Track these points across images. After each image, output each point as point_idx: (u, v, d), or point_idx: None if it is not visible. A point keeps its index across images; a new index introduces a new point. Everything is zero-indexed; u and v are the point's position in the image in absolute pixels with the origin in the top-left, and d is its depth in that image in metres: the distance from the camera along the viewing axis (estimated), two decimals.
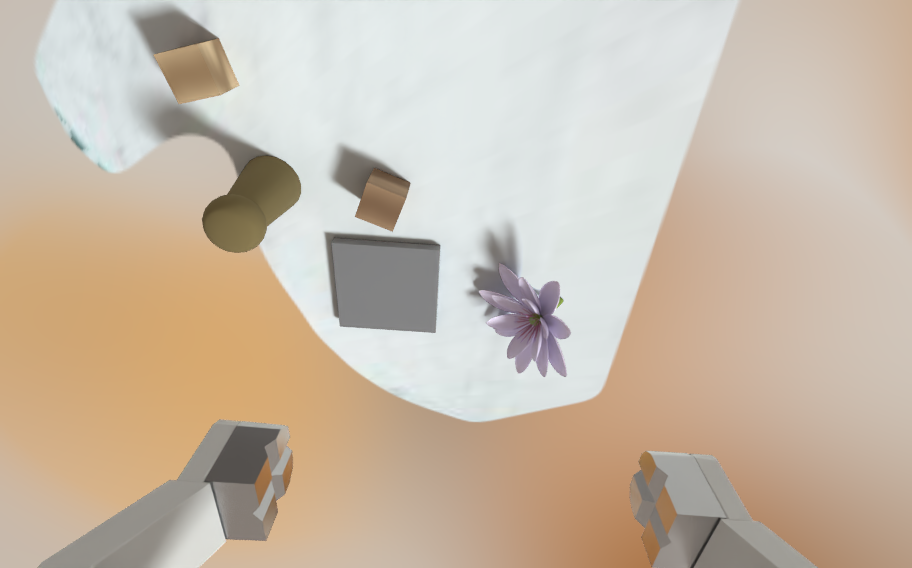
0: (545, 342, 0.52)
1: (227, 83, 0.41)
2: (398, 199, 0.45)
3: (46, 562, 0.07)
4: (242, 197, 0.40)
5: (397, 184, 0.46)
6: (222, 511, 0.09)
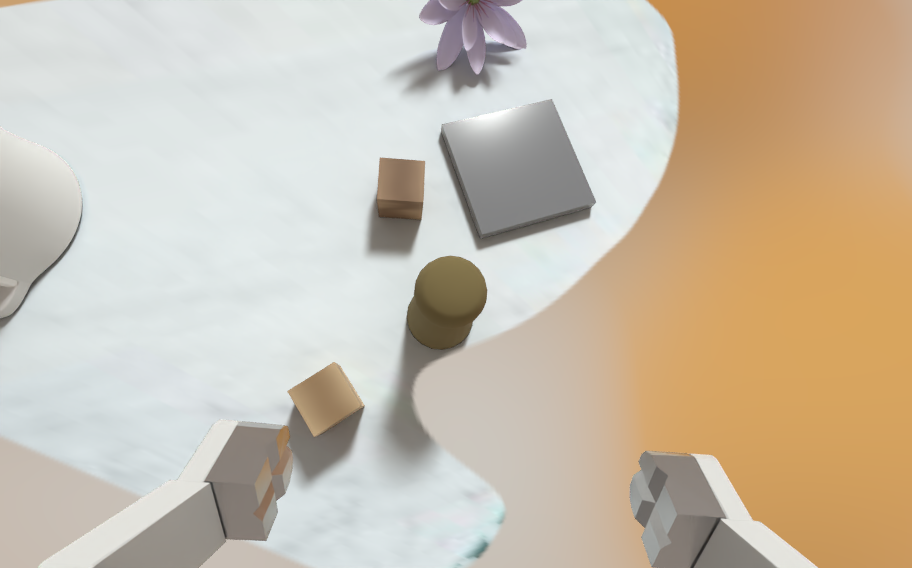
0: None
1: None
2: (384, 164, 0.41)
3: (46, 563, 0.07)
4: None
5: None
6: (222, 511, 0.09)
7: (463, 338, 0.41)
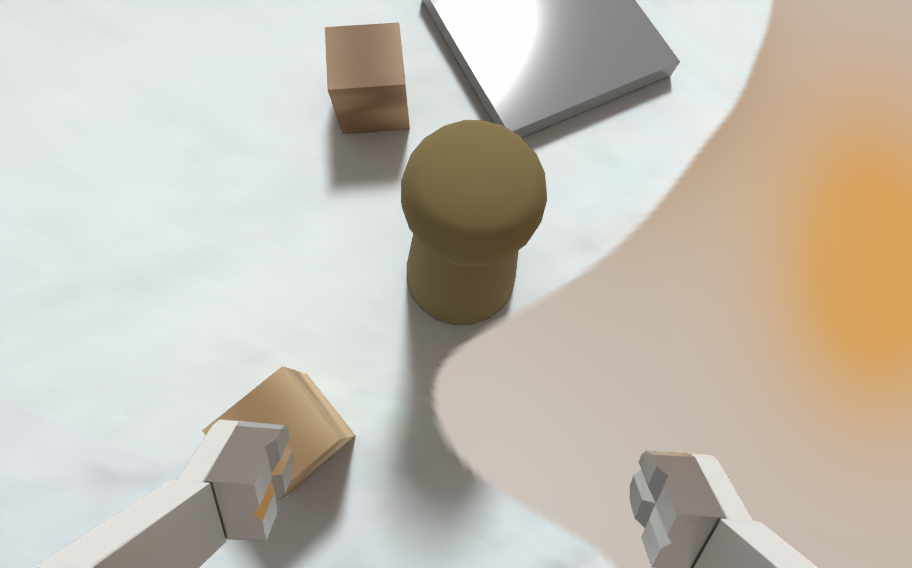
0: None
1: None
2: (333, 36, 0.25)
3: (46, 563, 0.07)
4: None
5: None
6: (222, 511, 0.09)
7: (504, 300, 0.24)
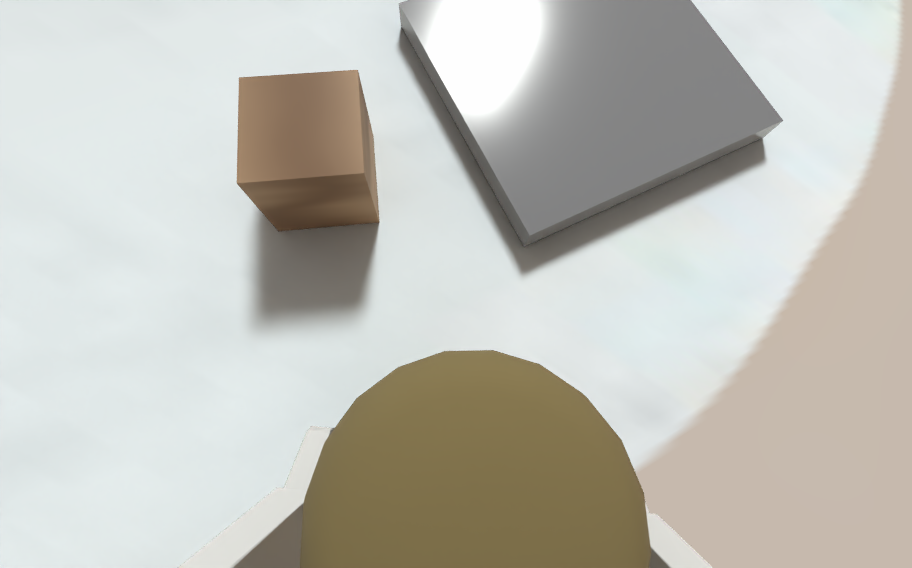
0: None
1: None
2: (251, 92, 0.15)
3: None
4: None
5: None
6: None
7: None
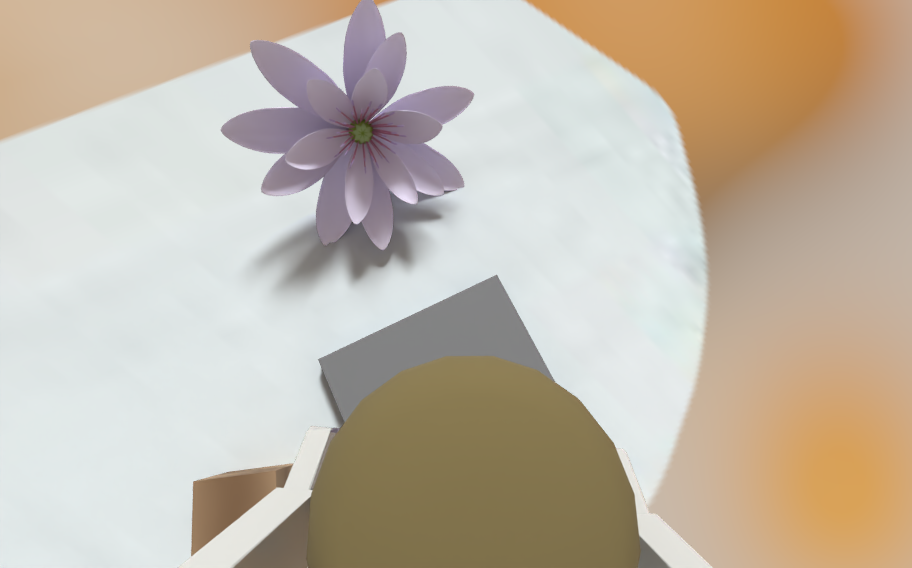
0: None
1: None
2: (201, 494, 0.23)
3: None
4: None
5: None
6: None
7: None
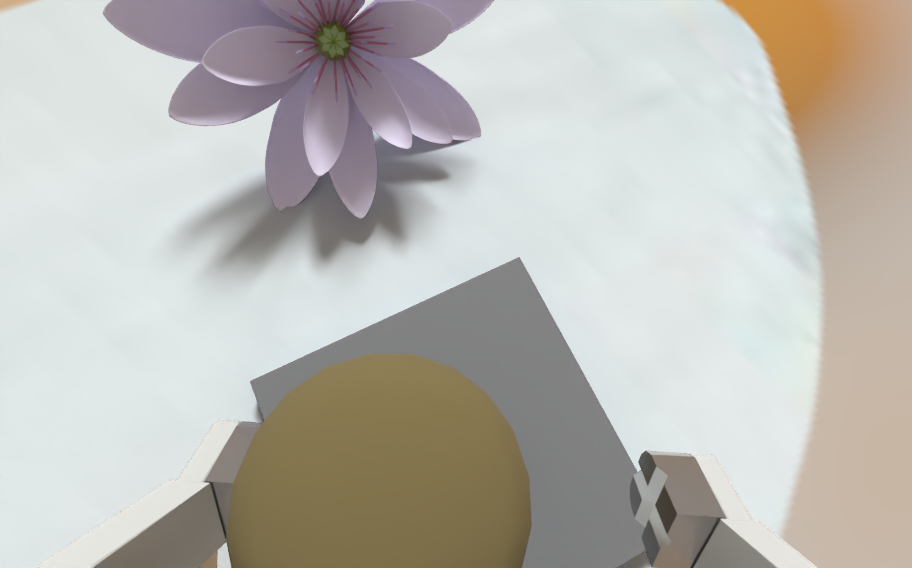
0: None
1: None
2: None
3: (46, 562, 0.07)
4: None
5: None
6: (222, 511, 0.09)
7: None
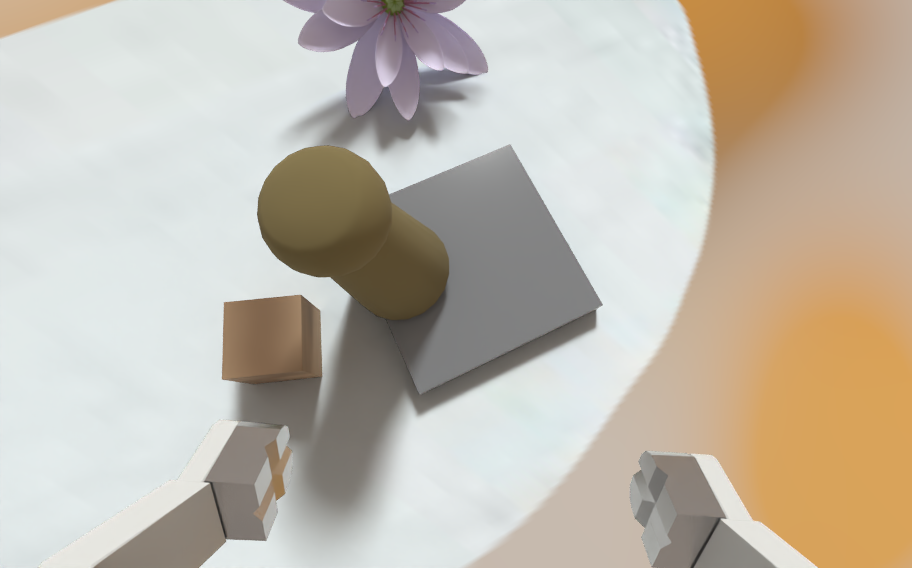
0: None
1: None
2: (232, 313, 0.24)
3: (46, 562, 0.07)
4: None
5: None
6: (222, 511, 0.09)
7: (433, 295, 0.26)
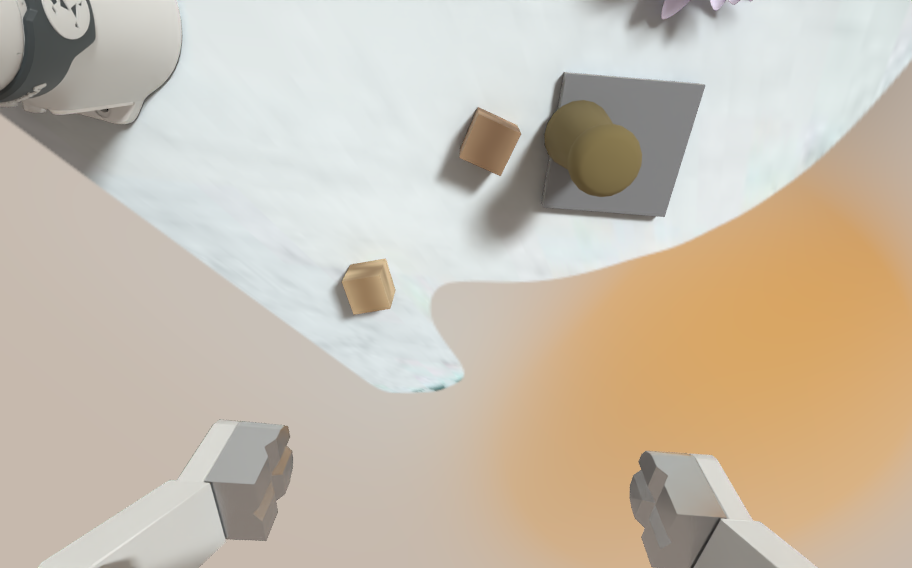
0: None
1: (377, 267, 0.48)
2: (480, 123, 0.39)
3: (46, 563, 0.07)
4: (573, 143, 0.34)
5: (472, 123, 0.41)
6: (222, 511, 0.09)
7: None
